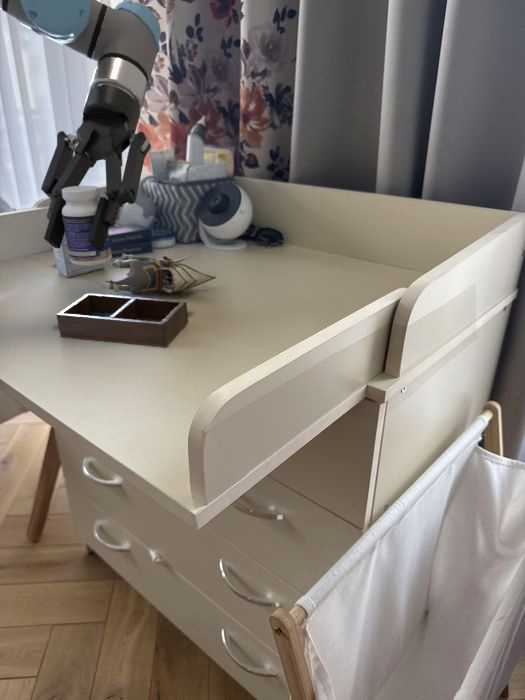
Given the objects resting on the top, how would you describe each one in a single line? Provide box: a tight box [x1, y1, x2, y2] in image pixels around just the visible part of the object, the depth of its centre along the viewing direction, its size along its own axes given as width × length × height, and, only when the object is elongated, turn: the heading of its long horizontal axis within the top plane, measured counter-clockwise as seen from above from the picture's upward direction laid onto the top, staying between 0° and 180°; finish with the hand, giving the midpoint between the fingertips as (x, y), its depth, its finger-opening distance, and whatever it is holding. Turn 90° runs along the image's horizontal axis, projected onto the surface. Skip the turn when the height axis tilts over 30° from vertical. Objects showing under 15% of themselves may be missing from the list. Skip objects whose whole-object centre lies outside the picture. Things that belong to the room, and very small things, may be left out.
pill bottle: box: [62, 185, 113, 266], centre depth 74 cm, size 6×6×10 cm
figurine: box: [104, 252, 217, 294], centre depth 94 cm, size 20×6×17 cm
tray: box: [55, 293, 189, 348], centre depth 80 cm, size 9×16×4 cm, turn 76°
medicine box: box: [52, 233, 106, 278], centre depth 103 cm, size 8×4×9 cm, turn 133°
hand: (73, 244), depth 72 cm, fingers closed on pill bottle, 6 cm apart
